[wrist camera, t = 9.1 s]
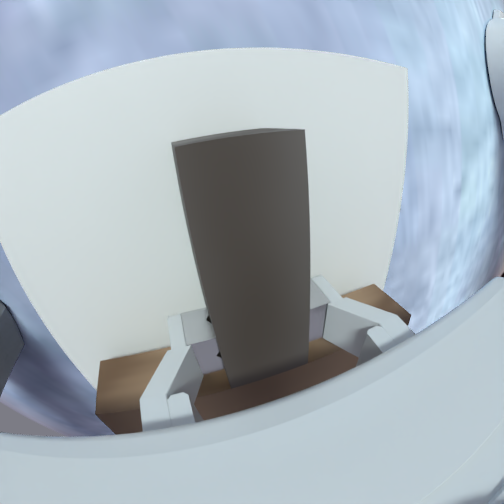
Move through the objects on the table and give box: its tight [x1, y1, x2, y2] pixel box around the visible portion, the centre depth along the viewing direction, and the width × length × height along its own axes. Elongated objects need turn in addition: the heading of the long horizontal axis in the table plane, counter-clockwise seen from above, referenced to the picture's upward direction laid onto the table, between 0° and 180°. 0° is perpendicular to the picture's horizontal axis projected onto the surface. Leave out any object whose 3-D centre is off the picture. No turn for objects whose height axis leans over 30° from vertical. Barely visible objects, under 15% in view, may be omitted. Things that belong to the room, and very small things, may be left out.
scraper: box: [95, 128, 411, 435], centre depth 9 cm, size 14×11×3 cm
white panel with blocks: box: [0, 48, 408, 390], centre depth 14 cm, size 18×21×4 cm
